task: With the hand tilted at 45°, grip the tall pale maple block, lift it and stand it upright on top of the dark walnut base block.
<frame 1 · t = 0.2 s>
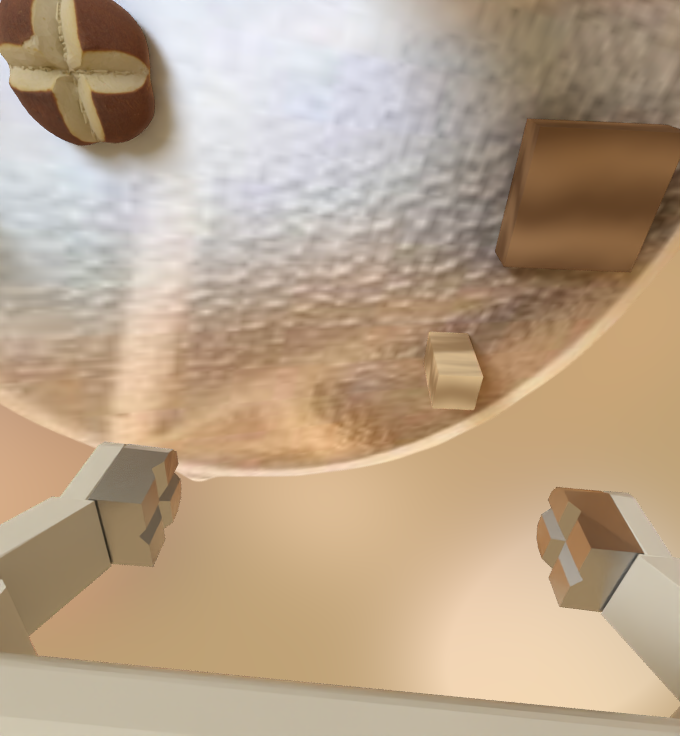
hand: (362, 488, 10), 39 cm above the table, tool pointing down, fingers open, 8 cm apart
maple block: (445, 348, 55), on the table
bread: (90, 70, 40), on the table
walnut base block: (572, 191, 45), on the table
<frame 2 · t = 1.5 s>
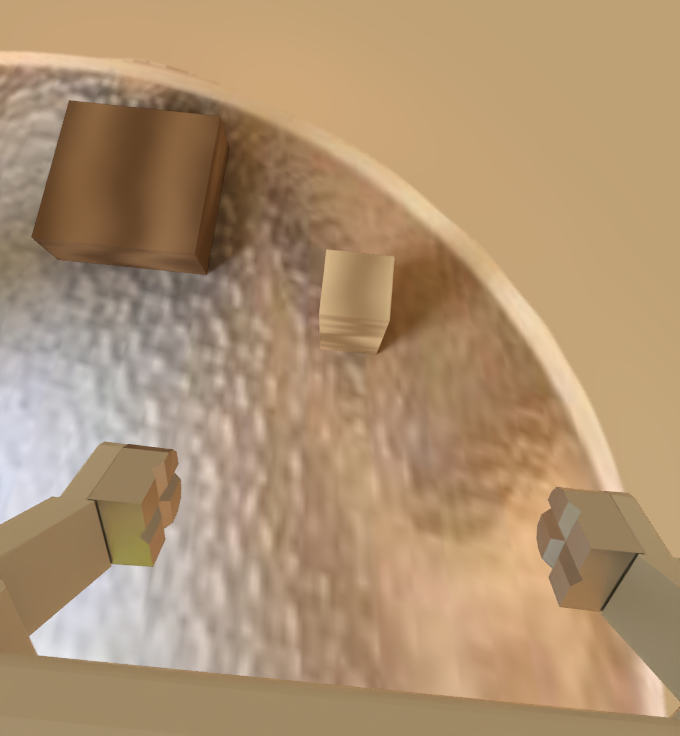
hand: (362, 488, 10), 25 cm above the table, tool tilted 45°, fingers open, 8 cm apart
maple block: (350, 325, 38), on the table
walnut base block: (148, 204, 40), on the table
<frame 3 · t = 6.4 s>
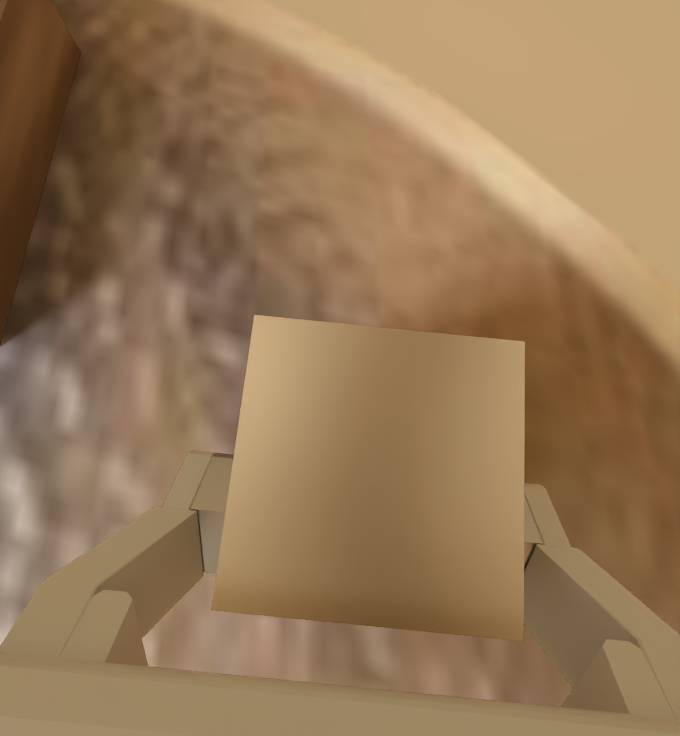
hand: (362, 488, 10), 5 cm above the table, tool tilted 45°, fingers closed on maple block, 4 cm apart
maple block: (353, 475, 15), on the table, touching gripper
when the fingers open (10 cm above the table, at t = 13.5 s): maple block drops 2 cm, point 3 cm above the table.
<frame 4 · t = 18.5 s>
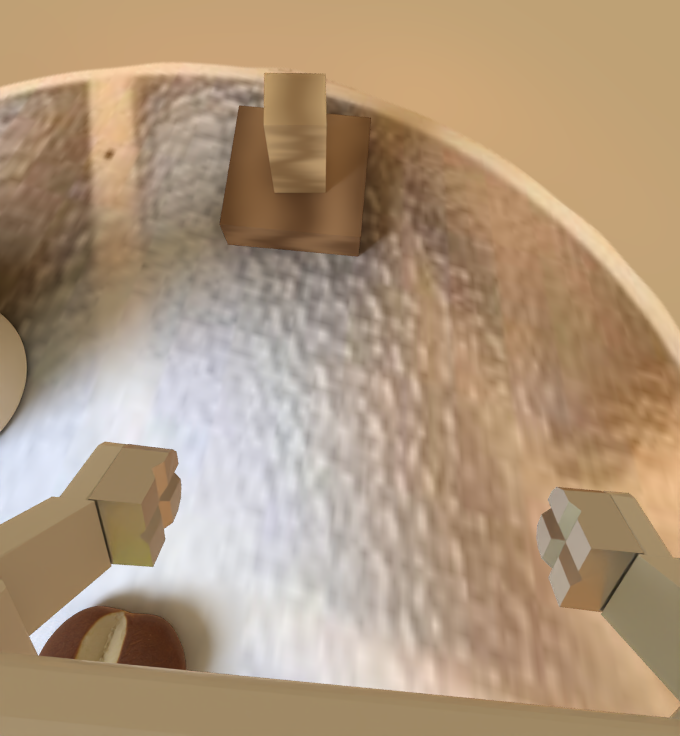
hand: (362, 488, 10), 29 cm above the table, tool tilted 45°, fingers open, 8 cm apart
maple block: (299, 170, 42), point 3 cm above the table
bread: (119, 686, 36), on the table
walnut base block: (300, 195, 46), on the table
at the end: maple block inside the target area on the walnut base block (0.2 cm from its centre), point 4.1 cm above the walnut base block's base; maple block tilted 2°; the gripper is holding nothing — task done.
